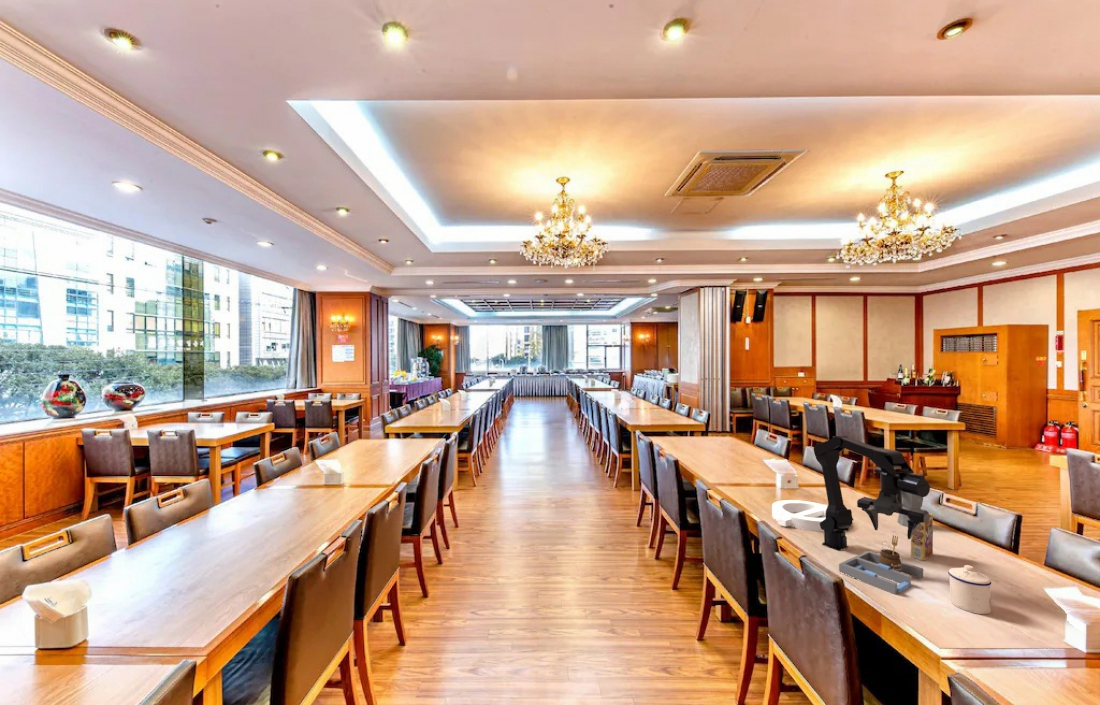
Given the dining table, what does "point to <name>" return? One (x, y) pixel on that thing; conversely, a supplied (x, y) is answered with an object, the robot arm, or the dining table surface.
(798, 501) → the ring with crossbar
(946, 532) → the dining table surface
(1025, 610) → the dining table surface
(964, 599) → the teacup with lid
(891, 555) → the utensil holder
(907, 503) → the coffeepot
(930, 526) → the candy box
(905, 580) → the divider rack
